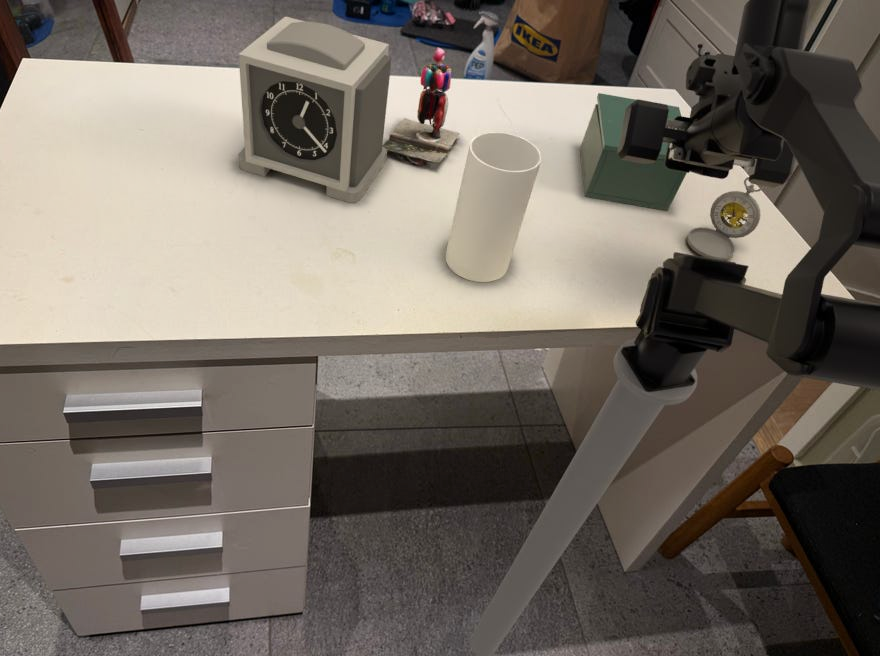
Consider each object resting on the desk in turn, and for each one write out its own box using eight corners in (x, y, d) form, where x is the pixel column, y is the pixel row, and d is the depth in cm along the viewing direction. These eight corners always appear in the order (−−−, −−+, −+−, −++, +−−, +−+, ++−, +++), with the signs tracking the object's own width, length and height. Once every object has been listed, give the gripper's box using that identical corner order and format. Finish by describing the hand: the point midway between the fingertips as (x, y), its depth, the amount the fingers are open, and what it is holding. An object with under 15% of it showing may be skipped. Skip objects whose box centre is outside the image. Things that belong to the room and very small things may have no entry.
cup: (434, 265, 84) (457, 154, 72) (460, 233, 89) (486, 123, 77) (493, 291, 82) (527, 181, 70) (516, 256, 87) (551, 147, 75)
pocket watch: (686, 256, 92) (721, 195, 84) (683, 221, 97) (715, 161, 90) (745, 270, 91) (785, 210, 84) (738, 234, 97) (776, 175, 89)
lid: (596, 97, 102) (598, 92, 101) (676, 111, 102) (679, 106, 101) (602, 149, 93) (604, 144, 92) (691, 165, 93) (693, 160, 92)
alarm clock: (235, 167, 93) (224, 35, 79) (276, 125, 102) (273, -2, 88) (356, 204, 91) (367, 74, 77) (388, 157, 99) (402, 33, 86)
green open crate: (579, 148, 108) (595, 103, 102) (655, 162, 108) (676, 117, 102) (584, 196, 99) (602, 149, 93) (667, 210, 99) (690, 165, 93)
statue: (402, 130, 107) (417, 31, 98) (457, 145, 106) (477, 47, 96) (378, 154, 99) (392, 50, 89) (437, 171, 98) (457, 67, 88)
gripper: (849, 59, 66) (763, 111, 81) (664, 25, 65) (614, 83, 81) (825, 171, 66) (744, 201, 82) (642, 137, 66) (596, 173, 82)
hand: (675, 162), depth 82 cm, fingers closed
